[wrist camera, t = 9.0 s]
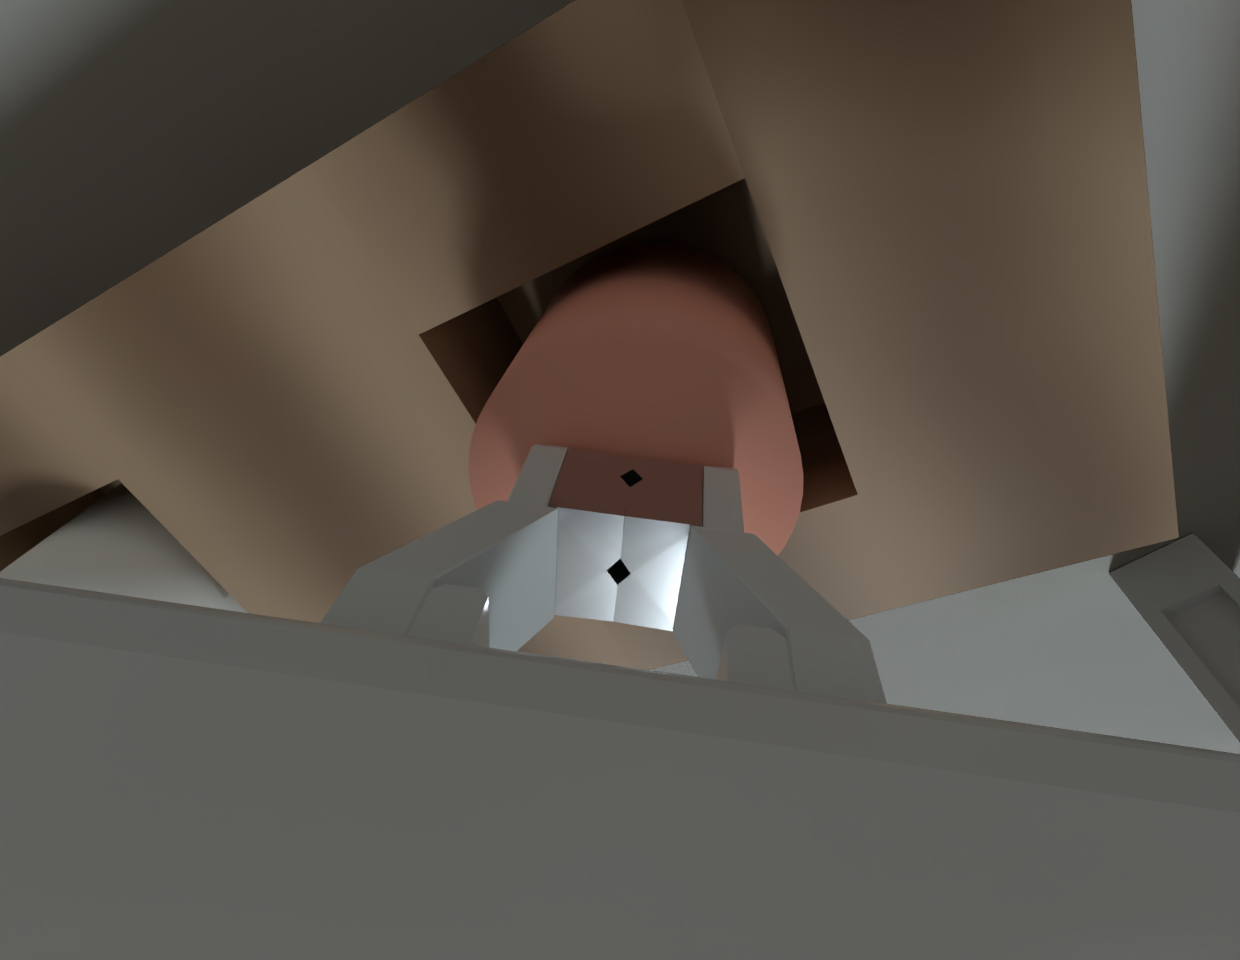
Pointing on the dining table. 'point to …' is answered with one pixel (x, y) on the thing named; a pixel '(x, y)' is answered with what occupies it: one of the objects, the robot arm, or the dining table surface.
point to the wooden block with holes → (672, 213)
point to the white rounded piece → (121, 557)
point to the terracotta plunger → (650, 381)
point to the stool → (1192, 616)
